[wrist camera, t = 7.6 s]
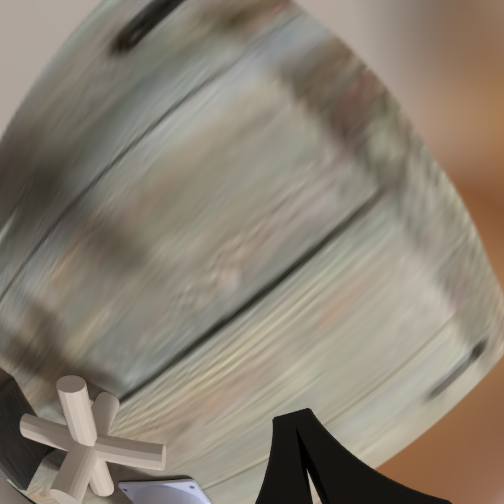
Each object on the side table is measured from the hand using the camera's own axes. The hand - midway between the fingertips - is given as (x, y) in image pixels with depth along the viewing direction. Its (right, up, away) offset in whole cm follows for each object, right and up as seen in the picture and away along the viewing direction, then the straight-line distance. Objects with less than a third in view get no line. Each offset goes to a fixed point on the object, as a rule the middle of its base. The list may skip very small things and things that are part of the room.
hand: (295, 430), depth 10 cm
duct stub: (-24, -8, +9) cm, 27 cm away
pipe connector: (-12, -5, +10) cm, 16 cm away
